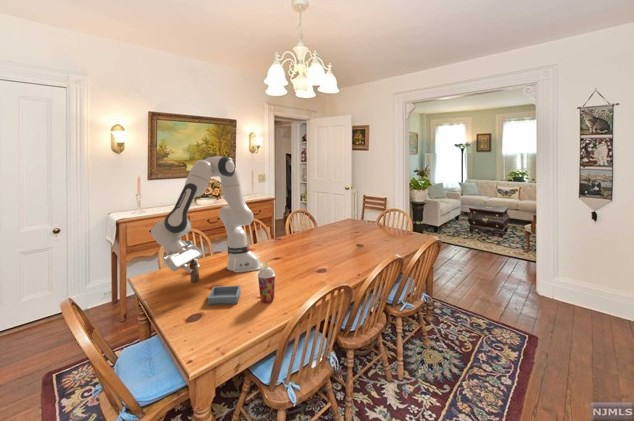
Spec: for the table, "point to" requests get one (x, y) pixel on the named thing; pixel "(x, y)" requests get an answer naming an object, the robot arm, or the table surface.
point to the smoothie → (266, 284)
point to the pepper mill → (194, 271)
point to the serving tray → (224, 295)
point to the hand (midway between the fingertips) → (195, 269)
